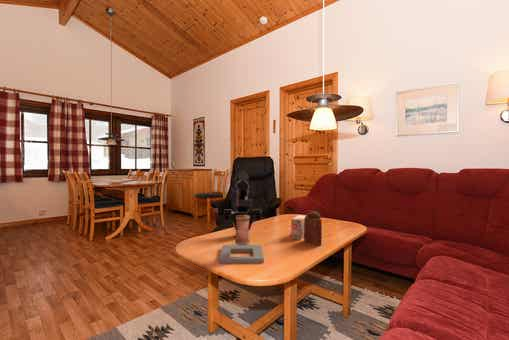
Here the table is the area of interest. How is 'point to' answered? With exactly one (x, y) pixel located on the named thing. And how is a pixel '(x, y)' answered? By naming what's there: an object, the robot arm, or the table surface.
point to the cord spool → (242, 229)
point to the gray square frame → (238, 249)
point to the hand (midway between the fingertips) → (242, 229)
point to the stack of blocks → (297, 227)
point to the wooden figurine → (313, 228)
